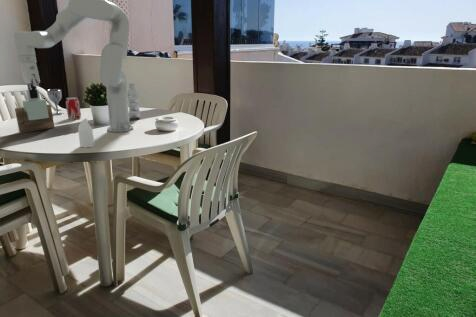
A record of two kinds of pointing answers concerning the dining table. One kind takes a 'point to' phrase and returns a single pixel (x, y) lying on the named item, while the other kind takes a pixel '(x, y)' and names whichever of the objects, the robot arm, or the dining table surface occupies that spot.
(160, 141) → the dining table surface
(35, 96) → the robot arm
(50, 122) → the brown boxy piece
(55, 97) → the wine glass
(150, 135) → the dining table surface
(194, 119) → the dining table surface
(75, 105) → the soda can
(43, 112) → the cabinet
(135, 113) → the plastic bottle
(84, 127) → the white pointed crystal
